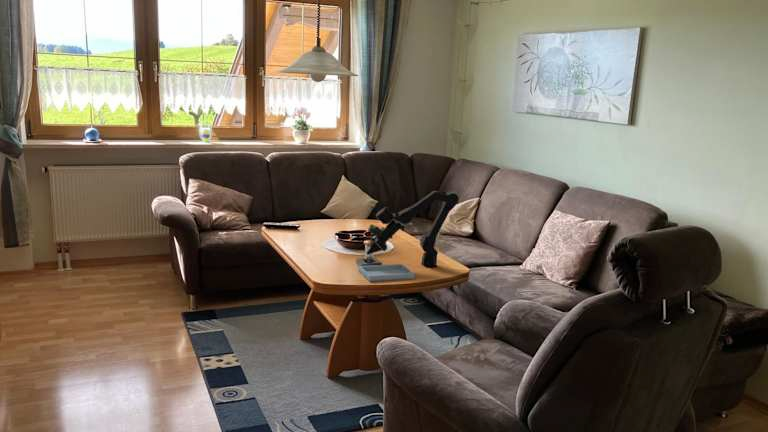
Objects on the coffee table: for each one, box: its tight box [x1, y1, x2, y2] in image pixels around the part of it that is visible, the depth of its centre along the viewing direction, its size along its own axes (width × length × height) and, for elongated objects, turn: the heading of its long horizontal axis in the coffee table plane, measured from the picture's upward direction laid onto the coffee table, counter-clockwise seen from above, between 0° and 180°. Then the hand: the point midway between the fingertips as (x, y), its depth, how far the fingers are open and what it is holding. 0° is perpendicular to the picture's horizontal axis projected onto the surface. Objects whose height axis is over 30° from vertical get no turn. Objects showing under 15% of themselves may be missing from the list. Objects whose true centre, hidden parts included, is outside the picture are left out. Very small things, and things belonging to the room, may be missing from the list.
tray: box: [358, 263, 416, 283], centre depth 291 cm, size 22×16×3 cm
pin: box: [363, 239, 374, 262], centre depth 304 cm, size 6×6×12 cm
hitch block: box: [355, 256, 383, 267], centre depth 305 cm, size 10×10×2 cm
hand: (366, 252), depth 304 cm, fingers closed on pin, 5 cm apart
